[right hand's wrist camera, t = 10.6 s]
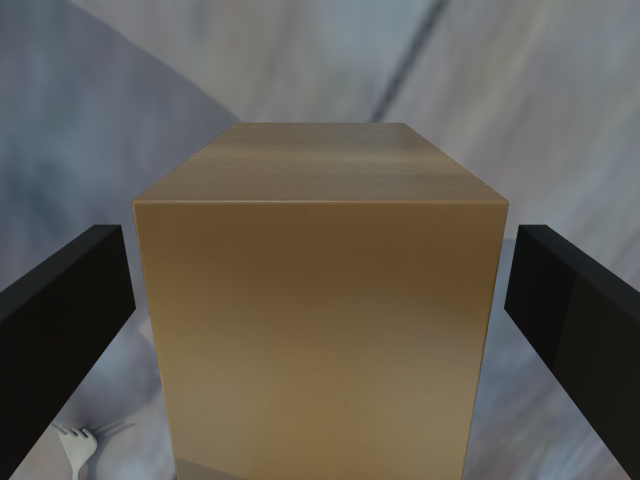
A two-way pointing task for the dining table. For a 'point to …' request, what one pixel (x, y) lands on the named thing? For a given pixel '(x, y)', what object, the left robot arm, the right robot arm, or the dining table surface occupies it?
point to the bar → (319, 302)
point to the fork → (77, 447)
